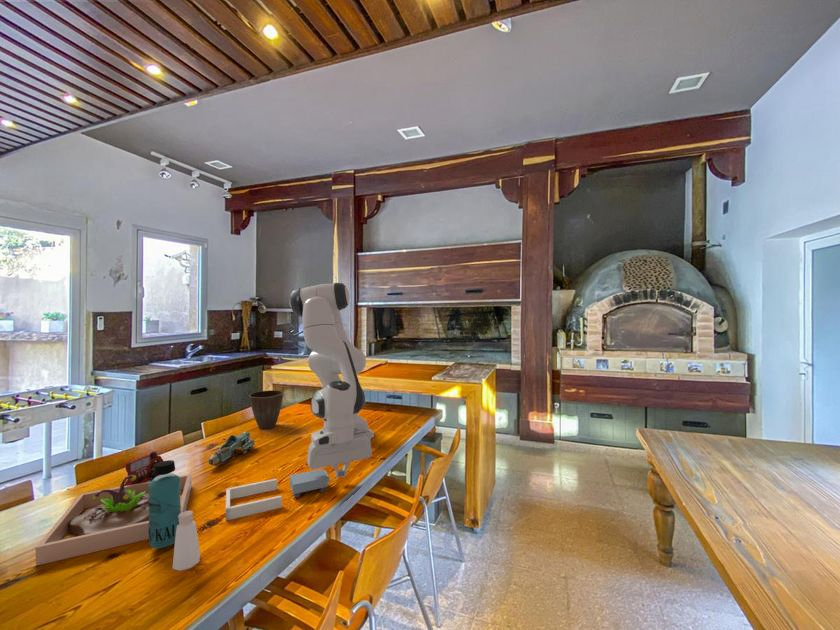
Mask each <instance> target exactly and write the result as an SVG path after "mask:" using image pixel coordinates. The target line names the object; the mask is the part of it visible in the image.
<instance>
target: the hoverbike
mask: <svg viewBox="0 0 840 630" xmlns="http://www.w3.org/2000/svg"><path fill="white" fill-rule="evenodd" d="M222 440H223V441H226V442H225V443H223V444H221V445H220V447H219V446H217V448H219V449H218V450H217V448H215V450H214V451H215V452H214V453H213V454H211V455H210V456H209V457H208V460H207V463H208V464H209V465H210V466H216V465H218V464H219V463H220V465H225V464H227V463H228V462H229V461H230V460H231V459H232V458H233V457H234V454H235V453H236V451H237V449H239V450H242V454H246V453H247V452H248V451H251V450H253V448H254V447H253V446H255V445H256V444H255V440H254V439H251V433H250V432H247V430H245V431H244V432H242V433H240V434H238V435H234V434H231V435H230V436H229V437H228V438H222ZM230 458H231V459H230Z"/></svg>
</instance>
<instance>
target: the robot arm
mask: <svg viewBox="0 0 840 630" xmlns="http://www.w3.org/2000/svg"><path fill="white" fill-rule="evenodd" d="M349 303H350V292H349V290H348V288H347V286H346V285H345V284H344V283H342V282H334V283H321V284H320V283H319V284H317V285H311V286H307V287H302V288H301V287H300V288H296V289H294V290H292V292H291V293H290V294H289V306H290V309H291V310H292V312H293V314H295V315H296V316H298V317H299V316H300V317H301V318H302V331H303V338H304V343H305V344H306V346H307V347H308V349H310V350H311V353H310V354H309V356H308V358H307V364H308V368H309V369H310V370H311V372H313V373H314V374H315V375H316V376H317V378H318V379H319V381H320V383H321V386H322V389H319V390H316V391H315V392H314V393H313V395H312V396H311V398H310V411H311V414H312V415H314V416H315V417H316V418H318V419H323V428H322V429H319V430H317V431H315V432H313V433H311V435H310V438H311V439H310V440H311V442H310V443H309V446H308V450H307V459H306V460H307V461H306V462H307V465H308V467H309V469H310V470H317V469H322V468H326V467H330V466H331V467H332V468H333V470H334V471H335V477H336V478H338V479H339V478H341V477H346V476H347V470H348V468H349V467H350V463H351V462H356V461H361V460H366V459H369V458H371V456H372V454H373V453H372V451H373V450H372V443H371V440H372V439H374V437H375V434H374V431H373V430H371V429H370V428H369V424H368V422H367V420H366V419H365V418H363V417H362V416H361V415H359V414H358V413H360V411H361V410H362V409H363V407H364V405H365V403H366V396H365V393H364V389H363V388H362V386H361V384H360V381H359V378H358V374H360V373H362V372H363V371H364V369H365V367H366V364H367V359H366V355H365V353H364V352H363V351H362V350H360V349H358V348H357V347H356V346H355V345H354V344H353V343H352V342H351V341H350V339H349V338H348V337H347V335H346V331H345V328H344V324H343V323H344V322H343V318H342V314H341V310H345V309H346V308H347V307H348V305H349ZM340 375H341V376H342V379H341V378H340ZM341 464H344V465H343V467H342V468H341V469H338V467H339V465H341Z"/></svg>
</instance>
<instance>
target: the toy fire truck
mask: <svg viewBox="0 0 840 630" xmlns="http://www.w3.org/2000/svg"><path fill="white" fill-rule="evenodd" d="M162 461H164V459H163V458H162V456H161V455H158V453H157V452H156V451H151V452H150V453H149V454H148V455H147V454H145V455H143V456H140V457H137V458H135V459H132V460H131V461H128V462H126V463H125V472H126V473H127V476H129V475H135V476H136V479H135V480H134V481H131V480H130V479H129V478H128V479H126V481H125V484H124V485H125V486H128V485H134V484H139V483H145V482H150V481H152V480H153V479H154V478H156V477H157V476H160V475H155V474H154V468H155V465H156V464H157V463H159V462H162Z"/></svg>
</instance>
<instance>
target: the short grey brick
mask: <svg viewBox="0 0 840 630" xmlns="http://www.w3.org/2000/svg"><path fill="white" fill-rule="evenodd" d="M330 481H331V479H330V476H329V474H328V473H327V470H325V469H323V468H318V469H313V470H311V471H309V470H308V471H306V472H300V473H295V474H290V475H289V485H290V488H291V492H292V495H293V496H294V498H295V499H299V498H300V497H301V493H305V492H310V491H315V490H318V489H319V490H320V493H325V492H326V491H327V488H328V483H330Z"/></svg>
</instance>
